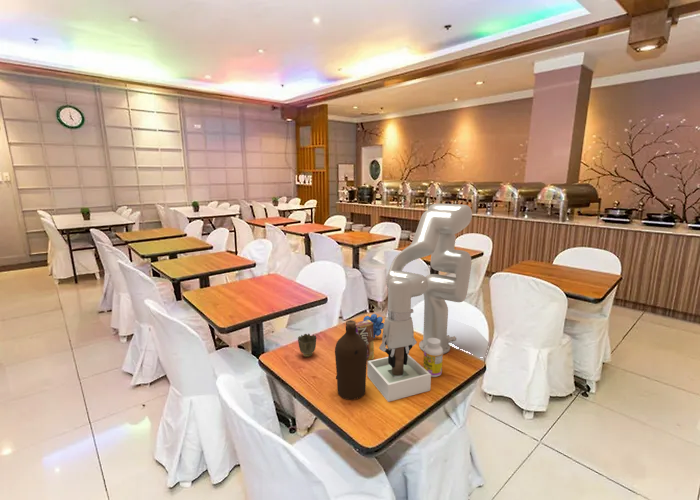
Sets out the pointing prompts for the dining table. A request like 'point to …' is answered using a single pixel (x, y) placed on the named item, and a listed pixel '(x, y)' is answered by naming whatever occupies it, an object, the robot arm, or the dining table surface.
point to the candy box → (366, 336)
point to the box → (398, 378)
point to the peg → (398, 361)
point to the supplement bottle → (433, 357)
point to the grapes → (375, 323)
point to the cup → (307, 344)
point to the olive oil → (351, 363)
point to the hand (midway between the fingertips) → (397, 363)
